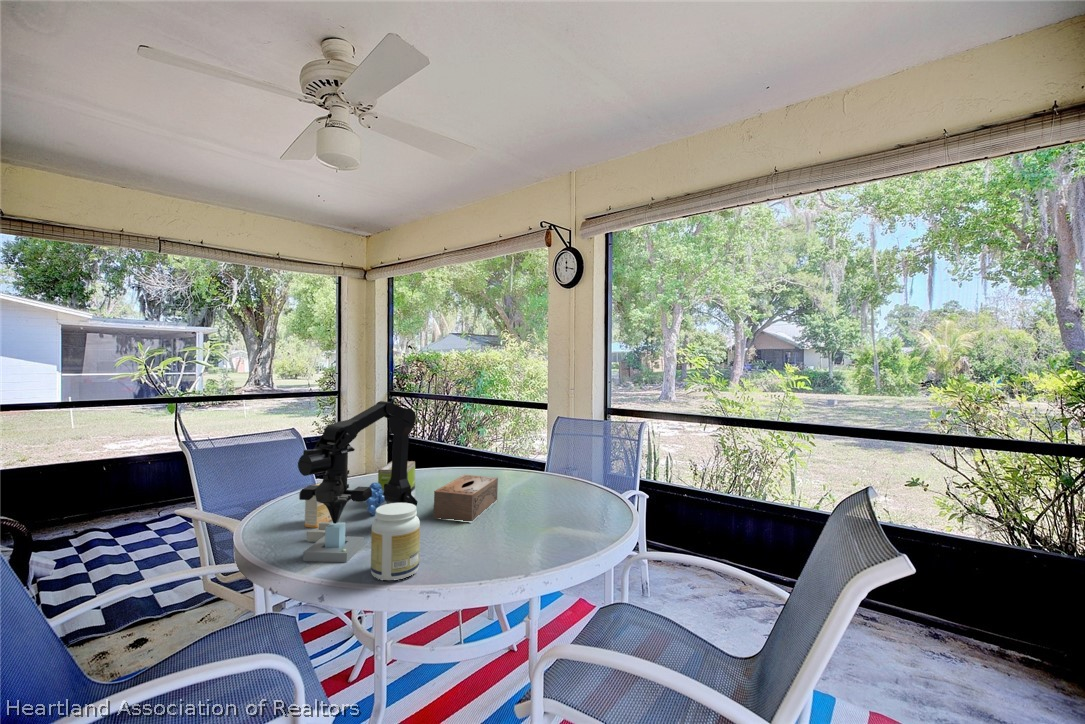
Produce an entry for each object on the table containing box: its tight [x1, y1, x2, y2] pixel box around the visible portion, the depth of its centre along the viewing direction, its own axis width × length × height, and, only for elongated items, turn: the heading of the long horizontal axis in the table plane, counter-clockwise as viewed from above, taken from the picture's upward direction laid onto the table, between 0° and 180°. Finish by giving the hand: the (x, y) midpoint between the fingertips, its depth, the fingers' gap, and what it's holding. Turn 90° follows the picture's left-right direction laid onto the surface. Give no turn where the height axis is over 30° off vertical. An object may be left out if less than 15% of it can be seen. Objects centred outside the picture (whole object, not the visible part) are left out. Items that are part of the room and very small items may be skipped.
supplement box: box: [304, 481, 332, 529], centre depth 159 cm, size 8×5×13 cm, turn 168°
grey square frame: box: [306, 521, 347, 543], centre depth 147 cm, size 8×9×3 cm
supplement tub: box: [370, 503, 421, 581], centre depth 124 cm, size 12×12×17 cm
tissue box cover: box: [433, 474, 499, 521], centre depth 177 cm, size 26×14×10 cm, turn 166°
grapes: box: [365, 482, 385, 516], centre depth 168 cm, size 12×7×12 cm, turn 178°
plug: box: [325, 523, 346, 548], centre depth 135 cm, size 4×4×8 cm
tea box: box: [377, 460, 416, 506], centre depth 184 cm, size 15×10×15 cm
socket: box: [302, 535, 365, 563], centre depth 135 cm, size 12×12×3 cm
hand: (335, 523), depth 135 cm, fingers closed
